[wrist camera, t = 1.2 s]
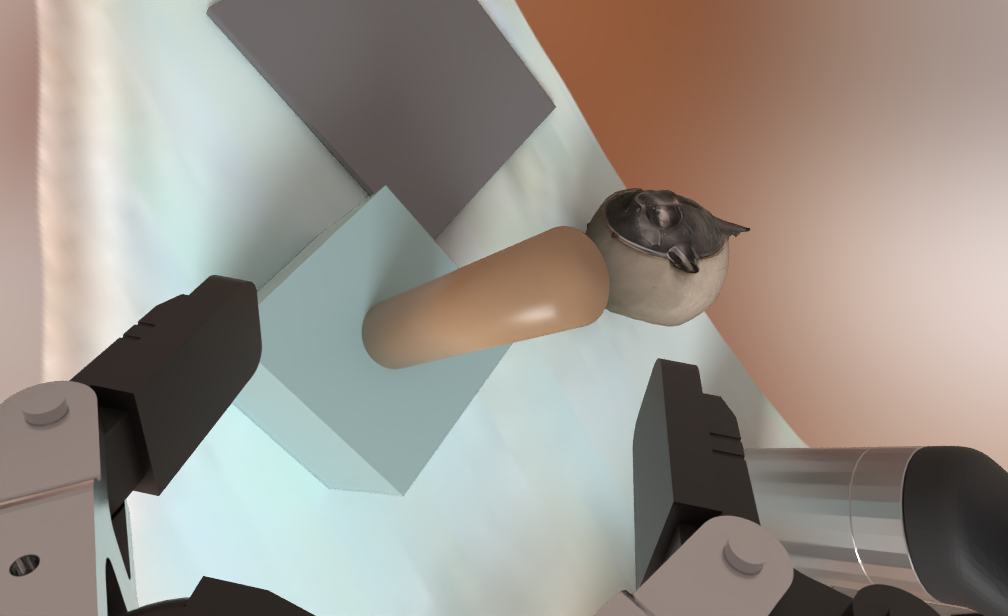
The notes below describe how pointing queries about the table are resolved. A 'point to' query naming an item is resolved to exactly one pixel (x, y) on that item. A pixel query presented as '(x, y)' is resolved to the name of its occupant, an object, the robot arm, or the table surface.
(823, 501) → the robot arm
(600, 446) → the table surface
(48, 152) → the table surface
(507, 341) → the peg on square base
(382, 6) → the mat
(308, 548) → the table surface
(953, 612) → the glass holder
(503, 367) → the table surface
